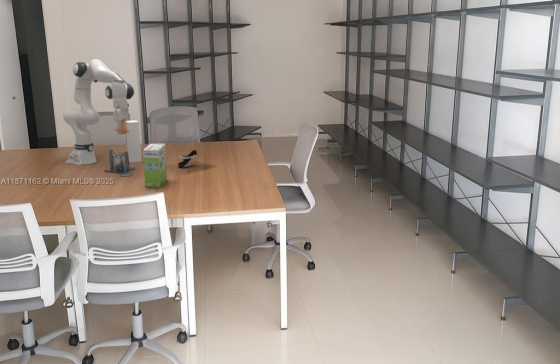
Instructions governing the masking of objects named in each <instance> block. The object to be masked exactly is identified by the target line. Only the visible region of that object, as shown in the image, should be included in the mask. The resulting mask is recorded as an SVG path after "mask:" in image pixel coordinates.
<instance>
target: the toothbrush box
mask: <svg viewBox="0 0 560 364" xmlns="http://www.w3.org/2000/svg"><path fill="white" fill-rule="evenodd" d="M166 151H167V149H166V143H149V144H148V145H147V146H146V147H144V149H143V150H142V155H143V174H144V176H143V177H144V187H145V188H161V187H163V185H164V184H165V182H166V181H167V180H168V173H167V171H168V170H167V154H166Z"/></svg>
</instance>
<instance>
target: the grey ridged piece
mask: <svg viewBox="0 0 560 364" xmlns="http://www.w3.org/2000/svg"><path fill="white" fill-rule="evenodd" d="M108 157H109V158H108V159H109V167H110V168H106V169H104V172H105V173H113V174H117V175H119V174H121V173H127V172H129V173H130V172H132V171H135V170H136V167H132V166H130V162H129V156H128V150H125V151H124V152H123V151H116V152H114V150H113V149H108Z"/></svg>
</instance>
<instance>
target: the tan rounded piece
mask: <svg viewBox="0 0 560 364" xmlns="http://www.w3.org/2000/svg"><path fill="white" fill-rule="evenodd" d="M126 121H127V119H123V120H121V124H122V127H119V126H118V122H117V121H116V124H117V129H115V130H114V131H115V132H117V134H118V135H126V133H127V132H129V130H126Z"/></svg>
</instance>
